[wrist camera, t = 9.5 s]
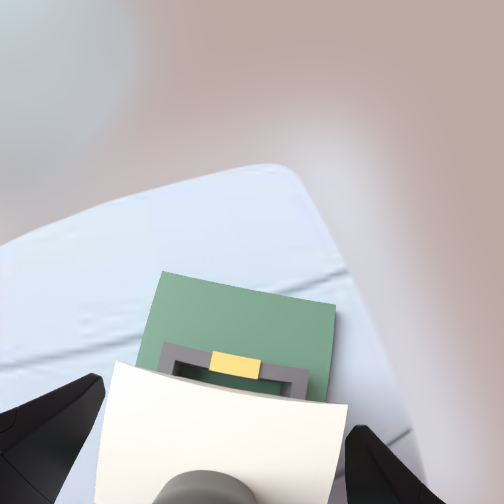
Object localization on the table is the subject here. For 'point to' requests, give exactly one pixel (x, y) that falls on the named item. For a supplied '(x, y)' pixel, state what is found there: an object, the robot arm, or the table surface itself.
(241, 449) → the plug block
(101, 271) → the table surface
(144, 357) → the header board
